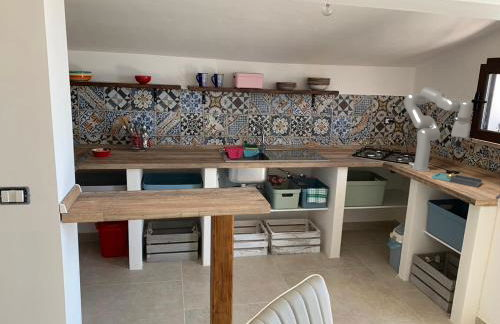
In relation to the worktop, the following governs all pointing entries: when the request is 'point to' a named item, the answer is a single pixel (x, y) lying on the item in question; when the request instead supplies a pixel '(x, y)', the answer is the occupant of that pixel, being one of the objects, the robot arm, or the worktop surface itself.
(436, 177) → the tray
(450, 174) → the brass puck
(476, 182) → the slot plate
